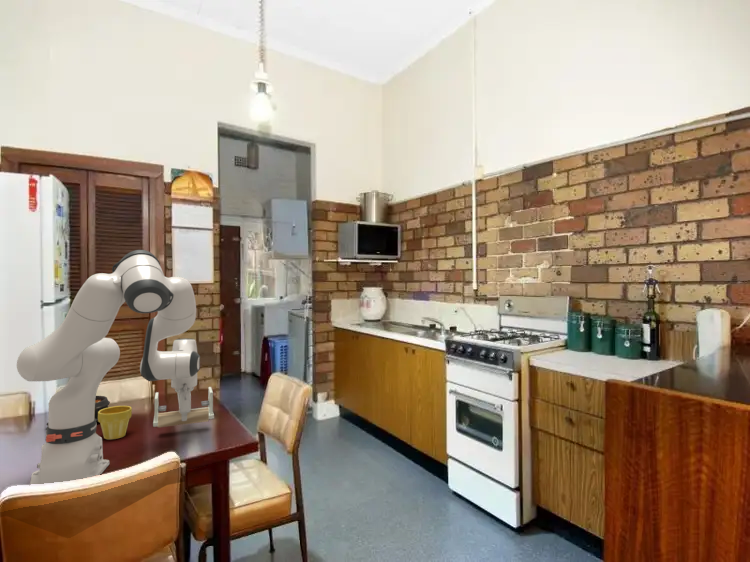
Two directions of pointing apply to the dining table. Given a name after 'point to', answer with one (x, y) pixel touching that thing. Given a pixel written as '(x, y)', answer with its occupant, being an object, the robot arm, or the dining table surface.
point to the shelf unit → (204, 403)
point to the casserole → (99, 405)
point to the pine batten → (176, 417)
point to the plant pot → (114, 421)
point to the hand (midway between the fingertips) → (183, 418)
